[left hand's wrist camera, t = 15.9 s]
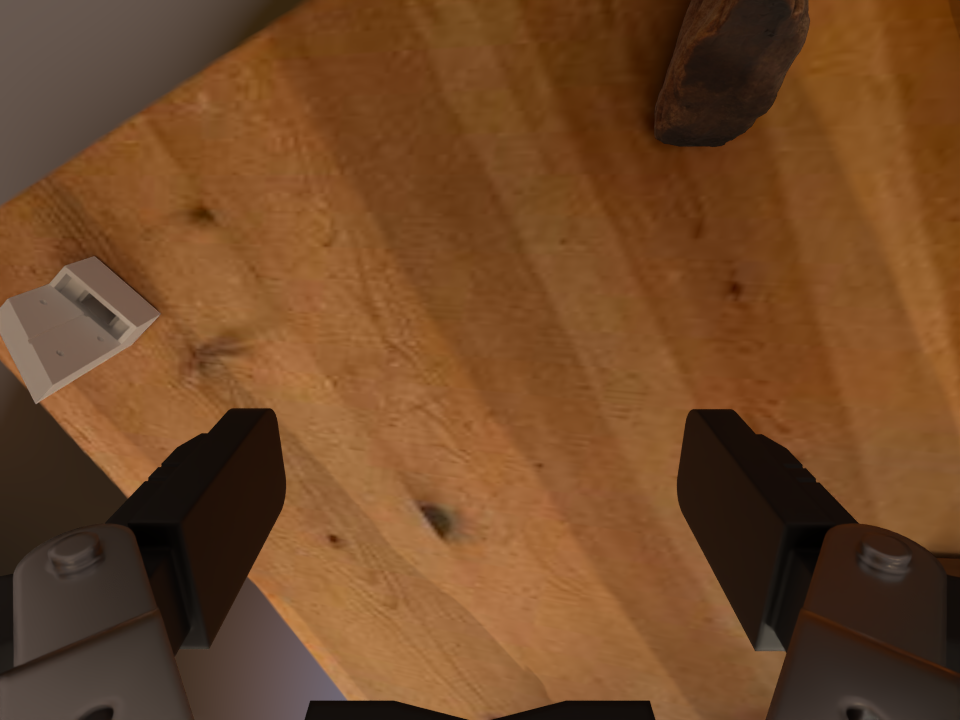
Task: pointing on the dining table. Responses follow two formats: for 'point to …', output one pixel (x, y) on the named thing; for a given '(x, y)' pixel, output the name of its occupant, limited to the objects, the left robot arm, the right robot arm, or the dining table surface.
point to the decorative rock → (727, 68)
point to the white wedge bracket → (72, 325)
